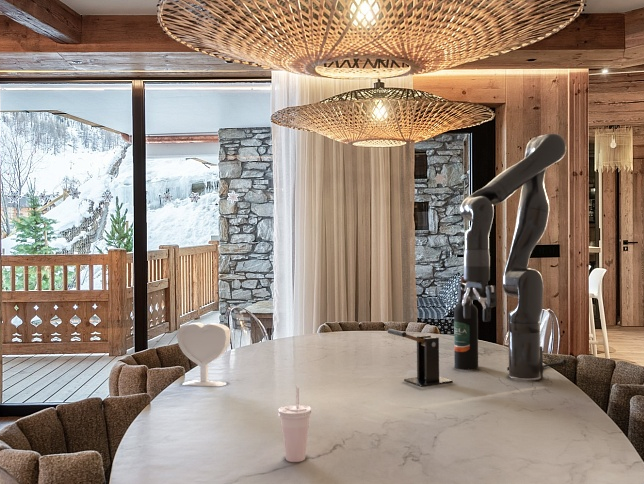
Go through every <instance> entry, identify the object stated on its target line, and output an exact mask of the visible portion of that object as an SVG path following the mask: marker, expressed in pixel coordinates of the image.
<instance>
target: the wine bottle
mask: <svg viewBox="0 0 644 484" xmlns="http://www.w3.org/2000/svg"><path fill="white" fill-rule="evenodd" d="M461 283H466V281H465V280H464V276H461V277H460V284H461ZM462 299H463V295H462ZM469 306H471V318H470V319H465V318H464V316H463V305H462V304H461V303H458V304H457V305H456V306H455V307H454V310H453V334H454V335H453V336H454V337H453V339H454V341H453V343H454V345H453V349H454V353H453V354H454V368H455V369H458V370H463V371H464V370H466V371H471V370H477V369H479V311H478V308H477V306H476V305H475V304H473V302H472V303H471V305H469Z"/></svg>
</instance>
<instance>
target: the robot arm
mask: <svg viewBox="0 0 644 484" xmlns="http://www.w3.org/2000/svg"><path fill="white" fill-rule="evenodd" d="M566 152H567V143H566V141H565V139H564V138H563V137H562V135H560V134H558V133H546V134H543V135H539V136H536V137H533V138H531V140H529V142H528V143H527V145H526V148H525V152H524V158H523V159H521V160H520V161H518V162H517V163H515V164H513V165H511V166H510V167H508V168H507V169H505V170H503V171H501V173H499V174H498V175H497V176H495V177H494V178H493V179H492V180H491V181H489V182H488V183H487V184H486V185H485V186H483V187H482V188H480V189H478V190H476V191H475V192H473V193H471V194H470V195H469V196H467V197H466V198H465V199H464V200H463V201H462V203H461V205H460V208H459V212H460V213H459V214H460V215H461V217H462V218H463V219H464V220H466V221H468V222H471V225H470V227H469V229H467V230H466V231H465V232H464V250H463V251H464V253H463V277H464V280H465V281H466V283H461V282H460V283H458V289H457V293H458V294H457V302H458V304H459V303H461V304H462V305H463V316H464V318H465V319H470V318H471V306H469V305H471V303H472V304H473V301H475V300H476V301H478V302H479V303H480V304H481V306H482V322H484V323H488V322H491V319H492V308H494V307H497V287H496V285H489V284H488V282H489V281H490V279H491V268H490V267H491V256H490V238H489V237H490V232H491V229H492V224H493V219H494V213H495V209H494V206H496V205H500V204H502V203H503V202H505V201H506V200H507V199H508V198H510V197H511V196H512V195H513V194H514V193H515V192H516V191H518V190H519V189H520V188H521V191H520V197H519V201H518V202H519V203H518V208H517V212H516V220H515V227H514V233H513V237H512V241H511V247H510V252H509V255H508V259H507V261H506V266H505V269H504V272H503V277H502V289H503V292H504V293H505V295H506V296H508V297H509V298H513V299H517V306H516V307H515V308H514V309H511V310H510V311H508V315H507V320H508V322H507V327H508V328H507V330H508V335H507V336H508V339H507V340H508V366H507V367H506V371H508V377H509V378H511V379H515V380H523V381H524V380H525V381H531V382H532V381H533V382H537V381H540V380H541V379H543V378H544V369H545V368H546V367H552V366H560V365H563V364H564V363H566V359H565V358H564V357H562V359H561V361H559V362H552V363H546V364H544V363H543V361H544V357H543V354H544V353H543V352H544V351H543V349H544V348H543V346H542V345H541V315H542V312H543V305H544V280H543V276H542V274H541V273H540V272H539V270H537V269H534V268H528V265H529V260H530V257H531V254H532V253H533V250H534V249H535V247H536V246H537V244H538V243H539V242H540V240H541V239H542V237H543V235H544V233H545V232H546V229H547V226H548V222H549V221H548V220H549V214H550V202H549V198H548V195H547V192H546V188H545V176H546V171H547V168H549V167H550V166H553V165H554V164H556V163H557V162H560V161H561V160H562V159H563V158H564V156H565V155H566ZM462 295H463V299H462Z"/></svg>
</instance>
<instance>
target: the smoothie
mask: <svg viewBox="0 0 644 484" xmlns="http://www.w3.org/2000/svg"><path fill="white" fill-rule="evenodd" d="M311 415H312V407H310V406H309V405H305V404H300V387H299V386H296V387H295V404H288V405H284V406H281V407H279V408H278V417H280V424H281V425H280V426H281V430H282V440H283V447H284V455H285V460H286V461H287V462H290V463H300V462H303V461H305V460H306V452H307V444H308V434H309V427H310V426H309V425H310V418H311V417H310V416H311Z"/></svg>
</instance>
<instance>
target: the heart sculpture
mask: <svg viewBox="0 0 644 484" xmlns="http://www.w3.org/2000/svg"><path fill="white" fill-rule="evenodd" d="M231 337H232V335H231V328H229V327H228V326H227V325H225V324H222V323H218V322H211V323H207V324H204V323H202V322H192V323H188V324H185V325H182V326H181V327H179V328H178V329H177V334H176V338H177V344H178V345H177V346H178V347H179V349H180V350H181V352H182V354H183V355H184V356H185V357H186V358H188V359H189V360H190V361H191V362H193V363H194V364H196V365H197V366H199V367H200V370H199V371H200V374H199V375H200V379H199V380H189V381H185V382H182V385H181V386H195V387H197V386H198V387H224V386H227V382H226V381H216V380H209V365H210V364H211V363H212V362H214V361H216V360H218V359H219V358H220V357H221V356H222V355H224V354H225V353H226V351H227V350H228V348H229V346H230V343H231Z"/></svg>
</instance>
